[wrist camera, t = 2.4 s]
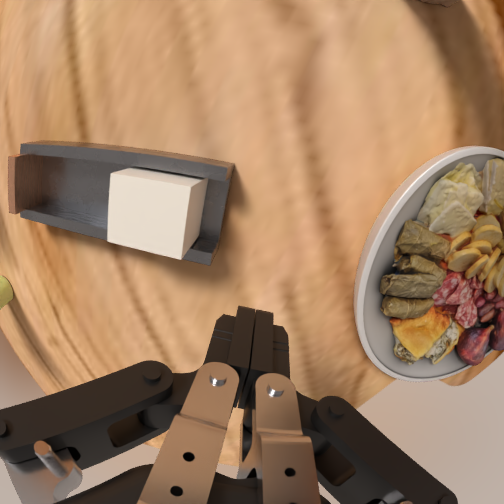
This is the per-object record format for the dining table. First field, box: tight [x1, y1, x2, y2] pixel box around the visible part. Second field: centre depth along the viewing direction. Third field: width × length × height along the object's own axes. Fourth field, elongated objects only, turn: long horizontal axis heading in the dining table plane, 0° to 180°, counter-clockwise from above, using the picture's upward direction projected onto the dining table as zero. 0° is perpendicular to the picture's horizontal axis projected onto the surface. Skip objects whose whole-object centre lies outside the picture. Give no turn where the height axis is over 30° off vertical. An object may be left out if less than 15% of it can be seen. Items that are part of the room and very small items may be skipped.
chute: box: [8, 141, 234, 265], centre depth 25 cm, size 25×9×6 cm, turn 78°
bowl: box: [354, 146, 504, 382], centre depth 25 cm, size 30×30×8 cm
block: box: [107, 166, 208, 260], centre depth 24 cm, size 7×6×6 cm
